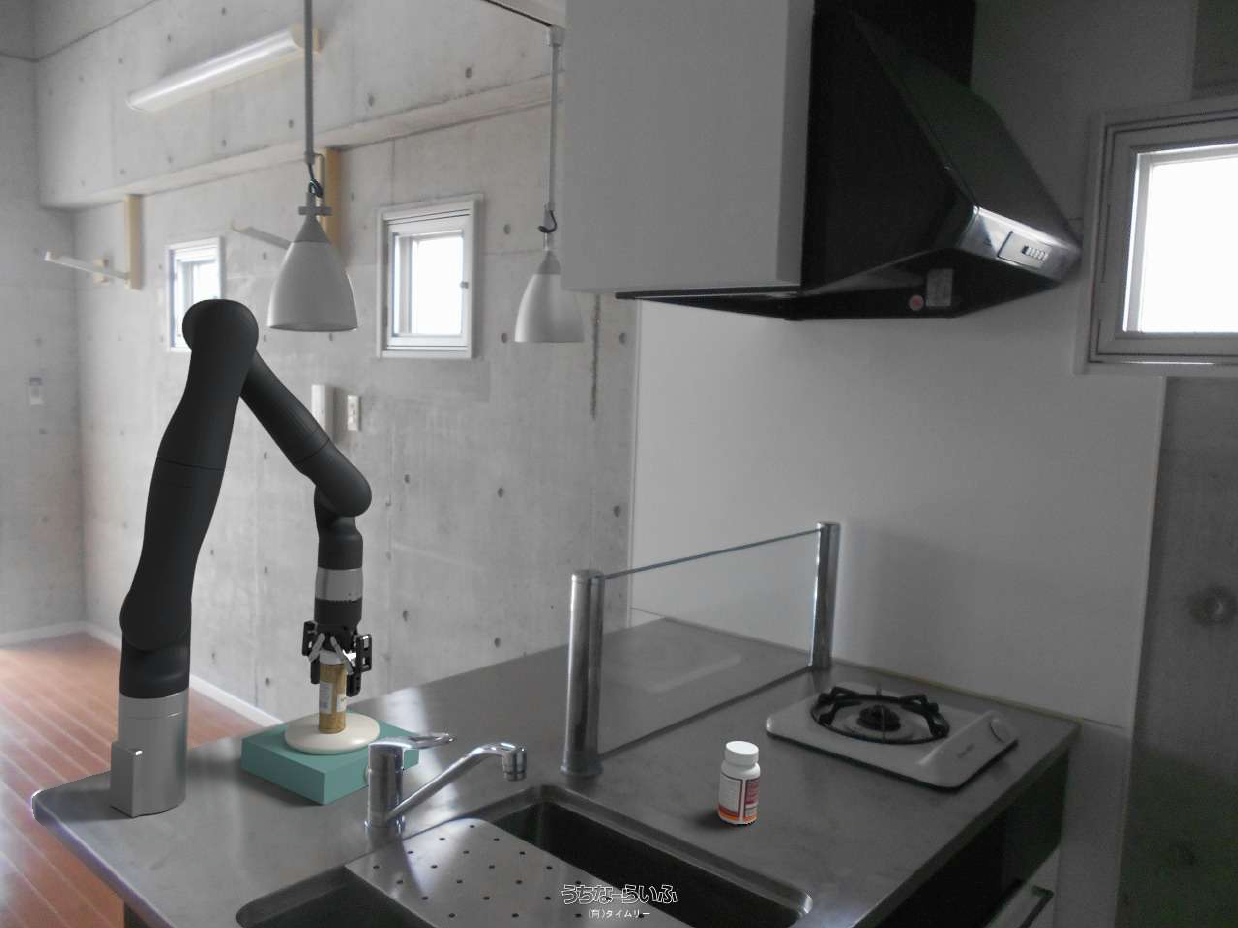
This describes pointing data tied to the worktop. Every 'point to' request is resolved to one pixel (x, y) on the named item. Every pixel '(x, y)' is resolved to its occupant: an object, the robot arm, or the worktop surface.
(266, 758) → the scale
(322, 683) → the sprinkles bottle
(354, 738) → the scale pan
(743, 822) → the pill bottle
